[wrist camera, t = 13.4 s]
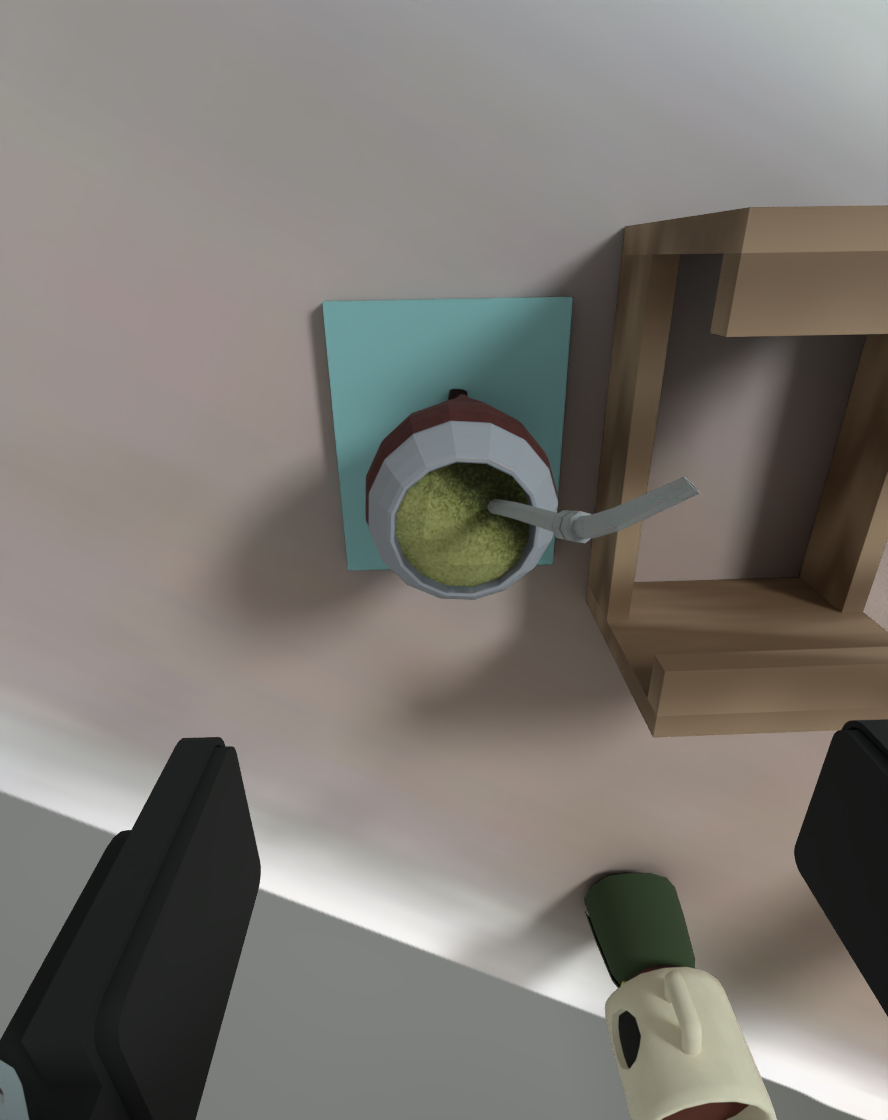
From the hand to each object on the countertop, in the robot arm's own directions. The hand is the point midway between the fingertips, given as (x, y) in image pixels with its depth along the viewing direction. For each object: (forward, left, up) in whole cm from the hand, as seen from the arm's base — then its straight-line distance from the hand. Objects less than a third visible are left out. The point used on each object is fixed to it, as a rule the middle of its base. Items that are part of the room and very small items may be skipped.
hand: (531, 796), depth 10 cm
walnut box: (0, -13, -20) cm, 24 cm away
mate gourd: (0, 0, -20) cm, 20 cm away
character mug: (-32, -12, -20) cm, 39 cm away
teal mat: (0, 0, -20) cm, 20 cm away
